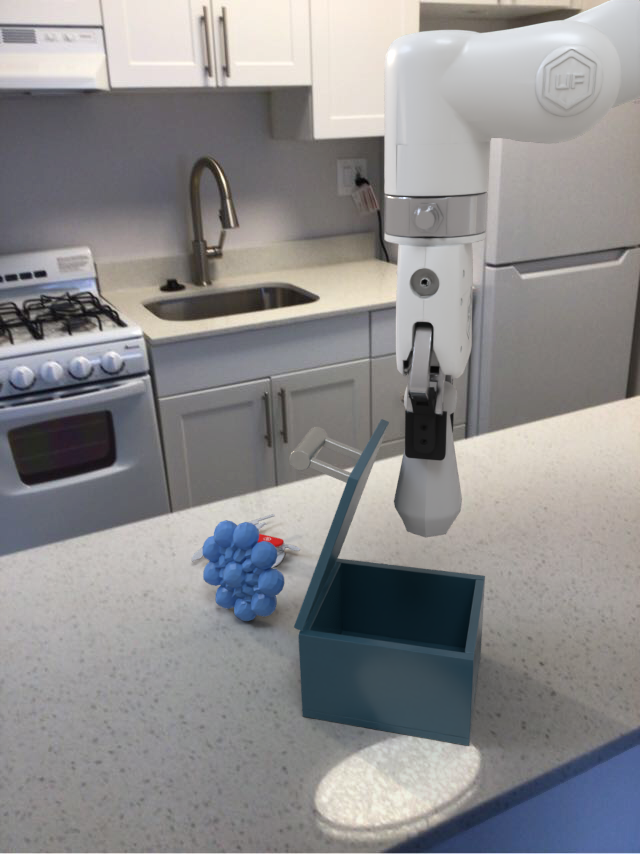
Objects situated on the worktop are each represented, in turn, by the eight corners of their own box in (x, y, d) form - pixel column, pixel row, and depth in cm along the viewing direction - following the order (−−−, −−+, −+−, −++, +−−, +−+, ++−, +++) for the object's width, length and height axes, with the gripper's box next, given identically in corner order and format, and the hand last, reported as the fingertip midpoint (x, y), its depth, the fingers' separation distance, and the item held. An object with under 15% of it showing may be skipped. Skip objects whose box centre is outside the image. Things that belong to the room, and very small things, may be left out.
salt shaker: (379, 524, 66) (379, 382, 61) (424, 503, 69) (427, 367, 65) (429, 549, 62) (433, 399, 57) (475, 526, 65) (482, 383, 60)
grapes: (313, 620, 80) (309, 520, 76) (268, 652, 75) (261, 547, 71) (237, 582, 87) (230, 489, 83) (192, 609, 83) (181, 511, 78)
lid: (389, 421, 68) (326, 396, 69) (358, 480, 57) (283, 449, 58) (338, 555, 75) (281, 531, 76) (302, 631, 64) (235, 602, 64)
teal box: (480, 652, 74) (485, 575, 71) (469, 746, 63) (473, 660, 60) (337, 631, 78) (335, 557, 75) (302, 716, 67) (298, 634, 64)
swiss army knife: (324, 534, 97) (323, 521, 97) (269, 589, 86) (268, 574, 85) (248, 517, 102) (247, 504, 102) (187, 567, 91) (186, 552, 90)
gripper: (476, 233, 48) (465, 494, 54) (494, 207, 63) (483, 414, 69) (360, 233, 50) (363, 485, 56) (404, 208, 65) (402, 409, 71)
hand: (429, 443), depth 63 cm, fingers closed on salt shaker, 4 cm apart
